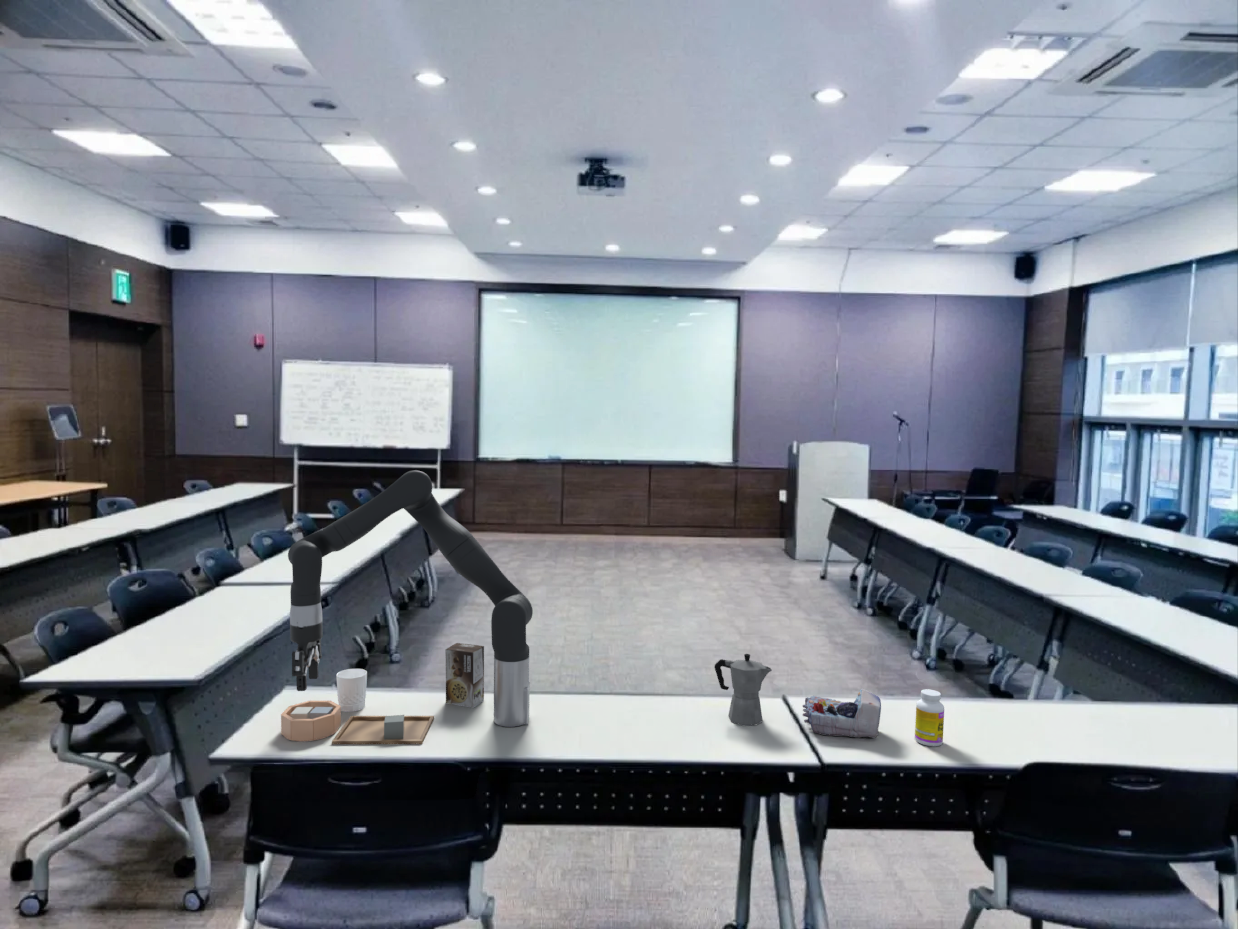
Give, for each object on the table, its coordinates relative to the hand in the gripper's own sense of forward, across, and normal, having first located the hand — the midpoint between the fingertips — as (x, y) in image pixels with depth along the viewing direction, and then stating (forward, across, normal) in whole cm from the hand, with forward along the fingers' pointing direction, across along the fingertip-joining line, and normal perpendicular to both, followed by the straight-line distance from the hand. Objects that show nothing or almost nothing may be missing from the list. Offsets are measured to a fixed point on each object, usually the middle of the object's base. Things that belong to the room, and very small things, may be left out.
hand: (307, 684), depth 192 cm
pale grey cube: (+12, 0, -2) cm, 12 cm away
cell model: (+15, 0, +137) cm, 138 cm away
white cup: (+13, -16, +6) cm, 21 cm away
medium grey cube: (+12, +4, +22) cm, 25 cm away
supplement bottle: (+15, +7, +157) cm, 158 cm away
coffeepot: (+14, -8, +112) cm, 113 cm away
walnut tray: (+13, 0, +19) cm, 23 cm away
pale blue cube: (+12, 0, +3) cm, 12 cm away
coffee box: (+13, -19, +36) cm, 43 cm away
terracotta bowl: (+12, 0, +1) cm, 13 cm away
